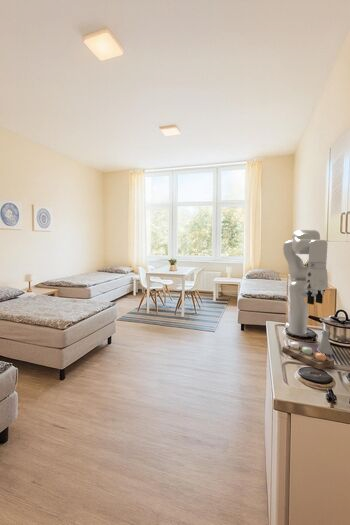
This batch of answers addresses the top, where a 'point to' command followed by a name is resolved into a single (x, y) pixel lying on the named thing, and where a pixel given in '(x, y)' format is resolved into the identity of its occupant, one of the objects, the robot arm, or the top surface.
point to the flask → (325, 344)
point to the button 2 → (307, 351)
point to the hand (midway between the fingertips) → (314, 303)
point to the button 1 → (294, 345)
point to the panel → (307, 357)
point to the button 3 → (320, 357)
